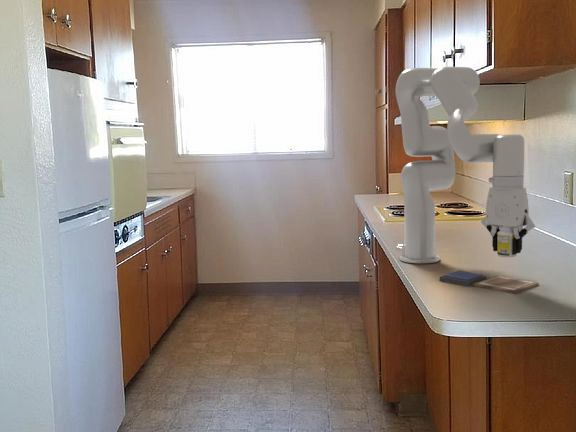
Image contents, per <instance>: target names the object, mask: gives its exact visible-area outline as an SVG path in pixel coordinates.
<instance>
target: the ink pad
mask: <svg viewBox="0 0 576 432" xmlns="http://www.w3.org/2000/svg"><path fill="white" fill-rule="evenodd" d="M485 279H488V277H487V275H484V274H482V273H476V272H469V271H464V270H455V271H453V272H452V271H451V272H449V273H446V274H443V275H440V276H439V282H444V283H450V284H455V285H460V286H465V287H470V286H473V283H476V282H479V281H482V280H485Z"/></svg>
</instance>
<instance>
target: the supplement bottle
mask: <svg viewBox="0 0 576 432" xmlns="http://www.w3.org/2000/svg"><path fill="white" fill-rule="evenodd" d="M499 230H500V231H498V234H497V251H496V254H497V256H498V257H501V258H515V257H516V256H517V254H513V253H512V246H513V239H514V238H515V236H514V231H513V228H512V227H501V226H499Z"/></svg>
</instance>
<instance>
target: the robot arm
mask: <svg viewBox="0 0 576 432" xmlns="http://www.w3.org/2000/svg"><path fill="white" fill-rule="evenodd" d="M480 83H481V81H480V77H479V74H478V72H477V71H476V70H475V69H474V68H472V67H469V66H468V67H467V66H444V67H443V66H442V67H440V68H431V67H430V68H429V67H414V68H409V69H405V70H403V71H402V72H401V73H400V74H399V76H398V78H397V81H396V84H395V98H396V102H397V105H398V109H399V113H400V122H401V133H402V144H403V150H404V153H405V154H406V155H407V156H409V157H414V158H415V157H418V158H419V157H420V158H421V157H431V160H428V159H427V160H416V161H411V162H408V163H407V164H405V165H404V166H403V168H402V170H401V173H400V179H401V185H402V191H403V201H404V203H403V204H404V206H403V207H404V211H403V212H404V217H403V218H404V229H403V230H404V234H403V235H404V236H403V237H404V242H403V243H404V244H399V243H398V244H397V246H396V247H395V251H398V252H401V254H400V255H399V260H400V261H402V262H404V263H409V264H433V263H434V264H435V263H437V262H439V261H440V259H441V258H440V257H441V256H440V255H438V254H436V253H435V251H436V247H435V246H436V245H435V244H436V243H435V242H436V205H435V201H434V199H433V197H432V195H431V193H430V191H431V192H432V191H440V190H441V191H442V190H447V189H449V188H451V187H452V186H453V185H454V183H455V180H456V162H455V154H456V155H457V157H458V158H459V159H460V160H461V161H462V162H464V163H467V164H480V163H492V177H489V178H488V182H489V183H490V184H492V185H491V187H489V189H488V194H487V197H486V198H487V199H486V207H485V216H484V217H483V218H482V220H481V222H480V223H481V224H482V225H483V226H484V227H485V228H486V229H487V231H488V232H489V235H490V236H491V237H492V241H491V242H492V251H493V252H497V234H498V231H500V230H499V226H501V227H512V228H513V231H514V236H515V238H514V239H513V246H512V253H513V254H516V255H517V254H520V253H521V251H522V250H523V238H524V237H525V236H526V235H527V234H528V233H529V232H530V231H532V230H534V229H536V225H535V223H534V221H533V220H532V219H531V218H530V213H529V212H530V211H529V208H530V207H529V199H528V197H529V196H528V193H527V189H526V188H525V187H524V183H525V182H524V180H525V178H524V177H525V176H524V175H525V173H524V171H525V138H524V136H523V135H521V134H500V133H491V134H490V133H489V134H488V133H487V134H486V133H483V134H480V133H478V134H472V133H471V132H470V130H469V128H467V126H466V123H465V121H468V120H469V119H470V118H472V116H474V115H475V113H476V112H477V110H478V107H479V102H478V100H477V99H476V96H475V94H477V92H478V90H479V89H480ZM420 97H437V99H438V100H439V103H440V104H441V105H442V107H443V108H444V110H445V112H446V114H447V115H448V117H449V118H448V121H447V126H446V127H444V126H441V125H440V126H439V125H432V126H431V124H430V119H429V111H428V109H427V106H426V105H425V103H424V102H423V101H422V99H421V98H420ZM524 226H525V227H524ZM523 227H524V228H523Z"/></svg>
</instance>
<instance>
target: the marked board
mask: <svg viewBox="0 0 576 432" xmlns="http://www.w3.org/2000/svg"><path fill="white" fill-rule="evenodd" d="M539 284H540V283H539V282H535V281H530V280H525V279H519V278H512V277H507V276H500V275H495V276H492V277H489V278H488V277H487V279H485V280H482V281H479V282H476V283H473V285H472V286H473V287H480V288H483V289H489V290H495V291H498V292H500V291H501V292H505V293H509V294H515V295H516V294H518V293H521V292H523V291H527V290H529V289H531V288H534V287H537V286H539Z"/></svg>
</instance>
